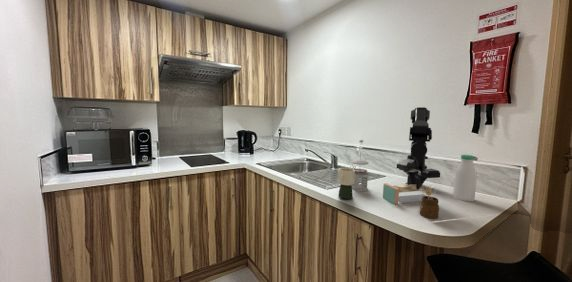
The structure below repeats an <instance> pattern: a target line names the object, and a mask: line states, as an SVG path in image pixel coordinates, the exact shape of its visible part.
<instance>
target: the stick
mask: <svg viewBox="0 0 572 282" xmlns="http://www.w3.org/2000/svg"><path fill="white" fill-rule="evenodd" d="M393 186H394V187H396V188H399V194H400V193H411V192H421V191H425V185H424V184H422V186H421V187H420V189H418V190H417V189H416V184H409V185H408V184H397V185H396V184H395V185H393Z"/></svg>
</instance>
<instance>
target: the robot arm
mask: <svg viewBox="0 0 572 282" xmlns="http://www.w3.org/2000/svg"><path fill="white" fill-rule="evenodd" d="M430 113H431V110H429V109H428V108H427V107H425V106H423V107H414V109H412V110H411V111H410V120H411V126H410V128H409V136H408V141H409V142H410V141H411V144H410V154H408V155H407V158H406V159H403V160H401V161H398V162H397V164H396V169H398V171H402V172H403V173H405V174H406V175H407V179H406V182H405V184H404V185H409V184H416V189H417V190H418V189H420V187H421V186H422V185H424V183H425V182H426V180H427V179H435V178H441V172H440V170H437V169H435V168H428V166H427V165H426V160H428V159H429V158H428V156H427V155H426V154H427V153H428V147H427V143H429V142H431V140H432V138H433V135H432V134H433V130H432V128H431V127H429V125H430V124H429V122H428V121H429V120H430V118H431V115H430Z"/></svg>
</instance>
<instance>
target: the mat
mask: <svg viewBox="0 0 572 282" xmlns="http://www.w3.org/2000/svg"><path fill="white" fill-rule="evenodd" d="M423 196H427V194H410V195H401V196H400V195H399V200H398V203H400V204H412V203H415V204H416V203H421V201H422V197H423Z"/></svg>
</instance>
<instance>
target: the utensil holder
mask: <svg viewBox="0 0 572 282" xmlns="http://www.w3.org/2000/svg"><path fill="white" fill-rule="evenodd" d="M432 189H433V190H432ZM425 190H426V191H425V192H426V193H425V195H426V196H423V197H422V201H421V202H419V203H420V204H419V215H420V216H421V217H422V218H423V217H424V218H425V219H430V220H437V219H439V212H440V206H439V199H438V198H437V197H435V196H434V194H436V193H437V188H436V187H435V186H427V185H426V189H425ZM433 191H434V192H433ZM433 193H434V194H433Z"/></svg>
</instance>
